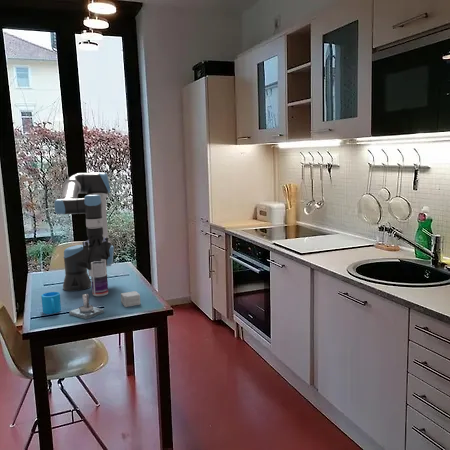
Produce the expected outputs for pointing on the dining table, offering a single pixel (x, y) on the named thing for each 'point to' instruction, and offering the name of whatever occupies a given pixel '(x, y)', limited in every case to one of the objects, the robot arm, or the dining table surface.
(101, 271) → the tube
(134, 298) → the small box
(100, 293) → the pill bottle
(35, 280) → the dining table surface
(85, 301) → the block
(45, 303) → the mug
